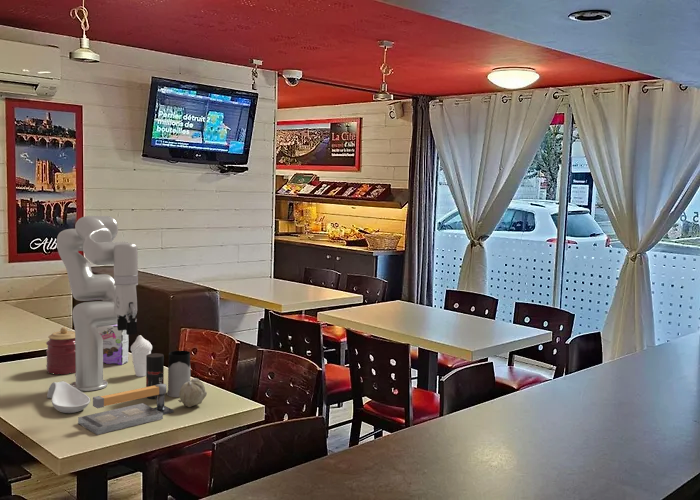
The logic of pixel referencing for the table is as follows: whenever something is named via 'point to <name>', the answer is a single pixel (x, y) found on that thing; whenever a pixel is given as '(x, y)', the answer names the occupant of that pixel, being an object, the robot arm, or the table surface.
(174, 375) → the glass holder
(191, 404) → the garlic bulb
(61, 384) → the spoon rest
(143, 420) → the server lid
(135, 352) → the soft serve ice cream cone
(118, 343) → the candy box
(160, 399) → the post
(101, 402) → the orange and grey bar
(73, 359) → the canister
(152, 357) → the deodorant
